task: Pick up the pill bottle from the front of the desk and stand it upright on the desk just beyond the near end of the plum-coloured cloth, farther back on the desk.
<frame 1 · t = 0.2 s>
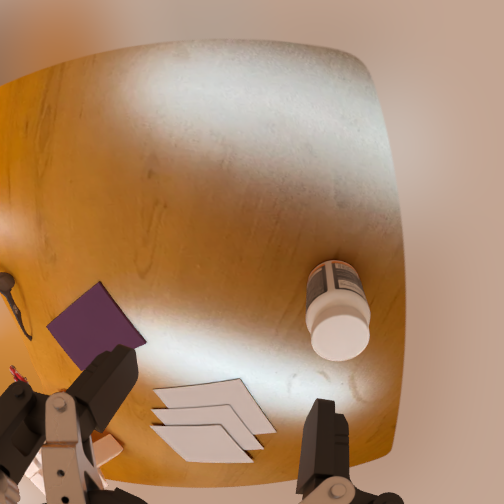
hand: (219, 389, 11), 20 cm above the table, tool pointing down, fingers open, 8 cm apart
pile of blocks: (81, 423, 59), on the table
cloth: (88, 333, 42), on the table
toy car: (21, 374, 59), on the table
paper stack: (207, 429, 45), on the table
sunglasses: (8, 297, 46), on the table
pill bottle: (333, 281, 30), on the table
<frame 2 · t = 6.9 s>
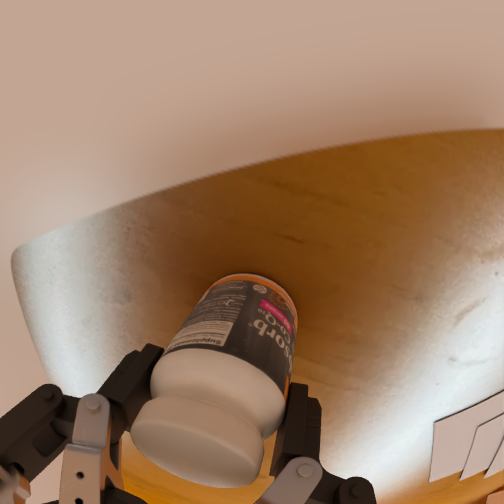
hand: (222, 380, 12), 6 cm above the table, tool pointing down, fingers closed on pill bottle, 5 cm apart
pill bottle: (249, 311, 17), on the table, touching gripper
when the fingers open (6 cm above the table, at t = 14.8 s): pill bottle stays where it is, on the table.
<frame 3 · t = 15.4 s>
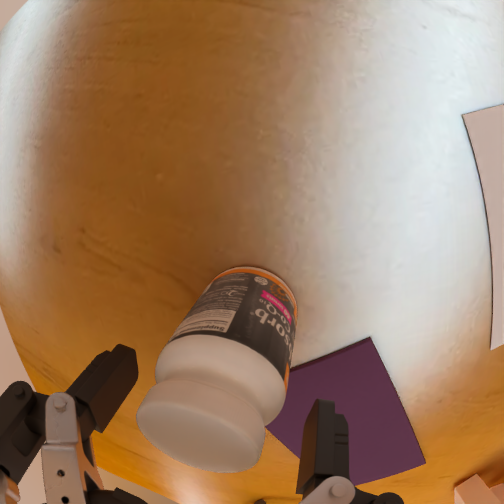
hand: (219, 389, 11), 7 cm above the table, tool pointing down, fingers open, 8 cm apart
cloth: (350, 439, 21), on the table
pill bottle: (251, 304, 18), on the table
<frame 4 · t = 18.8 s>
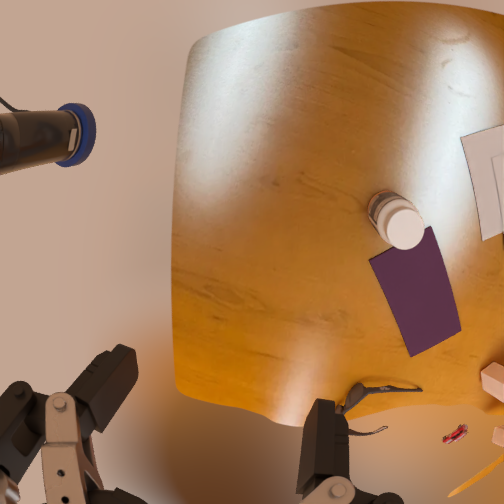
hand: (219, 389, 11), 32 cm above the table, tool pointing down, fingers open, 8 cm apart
cloth: (422, 299, 41), on the table
toy car: (454, 430, 52), on the table
sunglasses: (374, 403, 51), on the table
pill bottle: (385, 209, 38), on the table
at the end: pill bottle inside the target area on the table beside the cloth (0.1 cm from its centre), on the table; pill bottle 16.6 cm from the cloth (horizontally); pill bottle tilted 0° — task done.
